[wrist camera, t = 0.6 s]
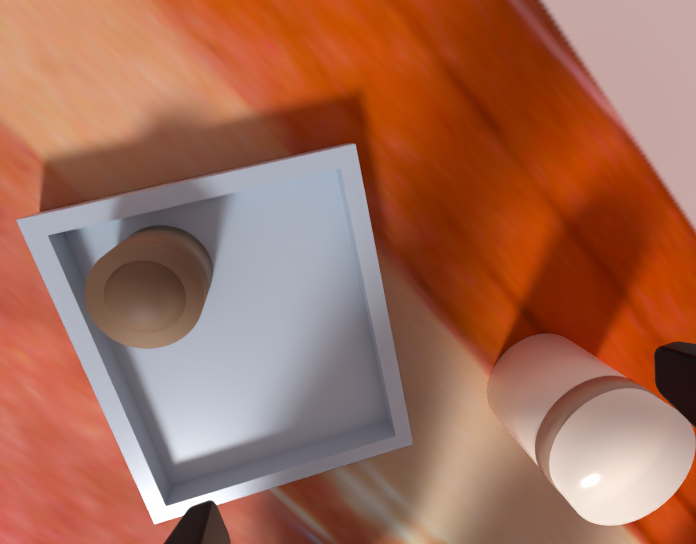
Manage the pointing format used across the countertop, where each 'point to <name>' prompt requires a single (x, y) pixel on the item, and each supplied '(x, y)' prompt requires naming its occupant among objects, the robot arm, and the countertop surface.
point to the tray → (241, 331)
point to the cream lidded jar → (591, 429)
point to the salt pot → (150, 287)
